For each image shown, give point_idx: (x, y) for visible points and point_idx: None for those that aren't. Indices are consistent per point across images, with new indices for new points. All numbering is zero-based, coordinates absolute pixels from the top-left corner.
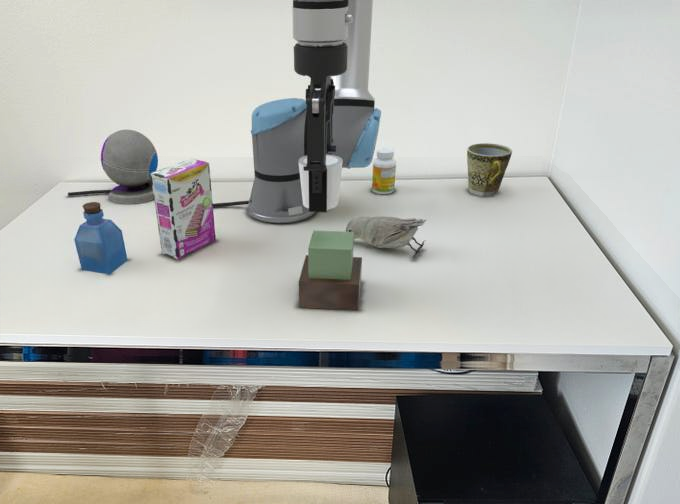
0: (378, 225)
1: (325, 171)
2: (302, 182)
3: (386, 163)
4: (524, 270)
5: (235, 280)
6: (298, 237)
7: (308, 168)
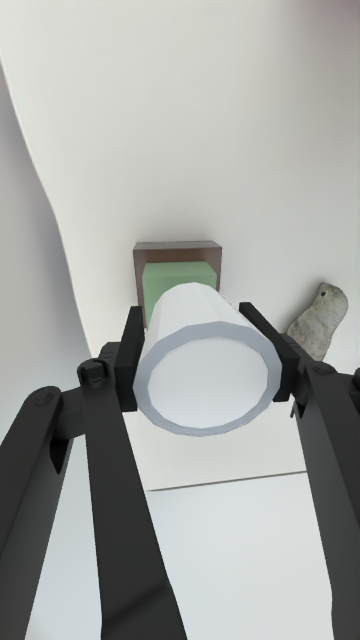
0: (308, 338)
1: (120, 407)
2: (166, 311)
3: None
4: (238, 435)
5: (206, 113)
6: (354, 205)
7: (31, 398)
